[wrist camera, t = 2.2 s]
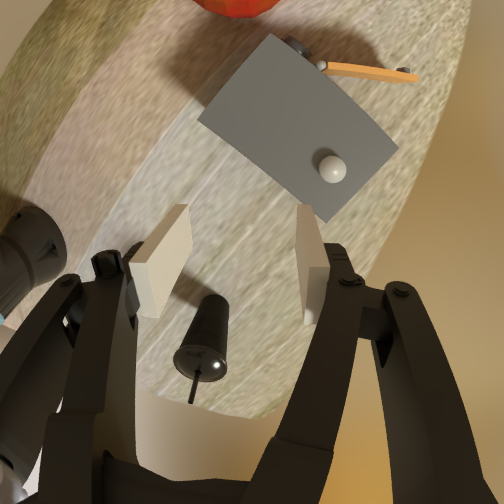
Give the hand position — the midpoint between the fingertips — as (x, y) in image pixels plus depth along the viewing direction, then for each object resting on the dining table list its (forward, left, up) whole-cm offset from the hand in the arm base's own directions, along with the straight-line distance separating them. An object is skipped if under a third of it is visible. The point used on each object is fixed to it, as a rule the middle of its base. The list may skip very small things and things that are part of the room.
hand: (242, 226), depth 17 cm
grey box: (+1, +6, -25) cm, 26 cm away
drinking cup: (+10, -25, -25) cm, 37 cm away
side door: (+2, +17, -24) cm, 29 cm away
